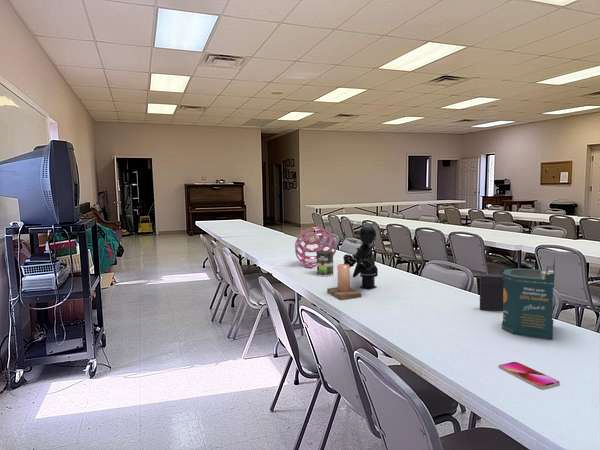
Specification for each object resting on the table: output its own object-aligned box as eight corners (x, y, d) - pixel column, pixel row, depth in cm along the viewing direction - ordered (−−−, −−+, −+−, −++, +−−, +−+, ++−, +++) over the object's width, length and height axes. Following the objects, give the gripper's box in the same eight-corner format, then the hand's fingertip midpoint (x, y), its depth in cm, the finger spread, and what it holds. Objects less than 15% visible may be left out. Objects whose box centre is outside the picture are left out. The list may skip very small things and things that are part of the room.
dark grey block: (507, 309, 175) (508, 274, 173) (509, 312, 171) (509, 277, 169) (479, 307, 179) (479, 273, 177) (480, 310, 175) (480, 275, 173)
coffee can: (330, 276, 247) (330, 253, 245) (314, 275, 250) (313, 253, 249) (335, 273, 256) (335, 250, 255) (320, 272, 260) (319, 250, 258)
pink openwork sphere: (336, 241, 257) (327, 214, 277) (293, 253, 258) (287, 225, 279) (343, 270, 275) (335, 243, 296) (303, 281, 276) (297, 253, 297)
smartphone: (515, 361, 125) (562, 382, 111) (515, 364, 125) (561, 385, 111) (496, 365, 122) (541, 387, 108) (496, 368, 123) (541, 391, 108)
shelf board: (327, 292, 212) (327, 288, 212) (346, 289, 216) (346, 286, 215) (340, 300, 197) (340, 296, 197) (361, 297, 201) (361, 293, 201)
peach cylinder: (340, 288, 210) (339, 263, 209) (351, 289, 208) (351, 264, 206) (336, 291, 205) (335, 266, 203) (347, 292, 202) (347, 266, 201)
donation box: (552, 340, 141) (554, 259, 138) (500, 332, 149) (501, 256, 147) (553, 325, 154) (555, 251, 152) (505, 319, 163) (506, 249, 160)
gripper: (386, 261, 204) (369, 287, 201) (364, 256, 221) (349, 280, 218) (371, 248, 200) (354, 275, 196) (350, 244, 217) (334, 269, 213)
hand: (348, 275), depth 206 cm, fingers open, 9 cm apart
